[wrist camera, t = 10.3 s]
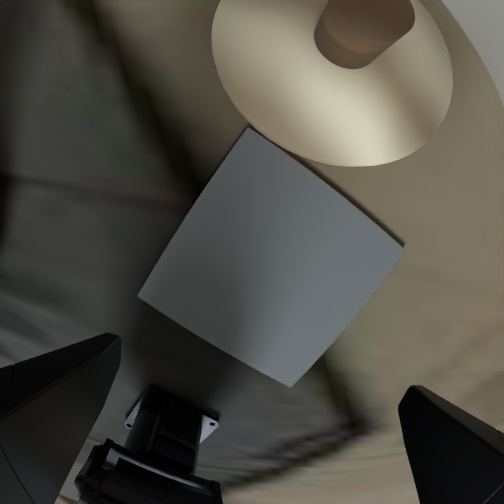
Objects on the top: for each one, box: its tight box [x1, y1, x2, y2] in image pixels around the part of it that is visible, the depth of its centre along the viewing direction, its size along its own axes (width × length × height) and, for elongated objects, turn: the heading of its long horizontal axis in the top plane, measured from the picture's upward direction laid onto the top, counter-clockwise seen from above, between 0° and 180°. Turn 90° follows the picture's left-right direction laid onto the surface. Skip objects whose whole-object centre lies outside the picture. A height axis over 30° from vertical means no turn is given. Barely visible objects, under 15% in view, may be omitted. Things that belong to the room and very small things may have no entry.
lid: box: [211, 0, 453, 167], centre depth 10 cm, size 12×12×5 cm
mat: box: [138, 127, 406, 388], centre depth 20 cm, size 13×13×1 cm
